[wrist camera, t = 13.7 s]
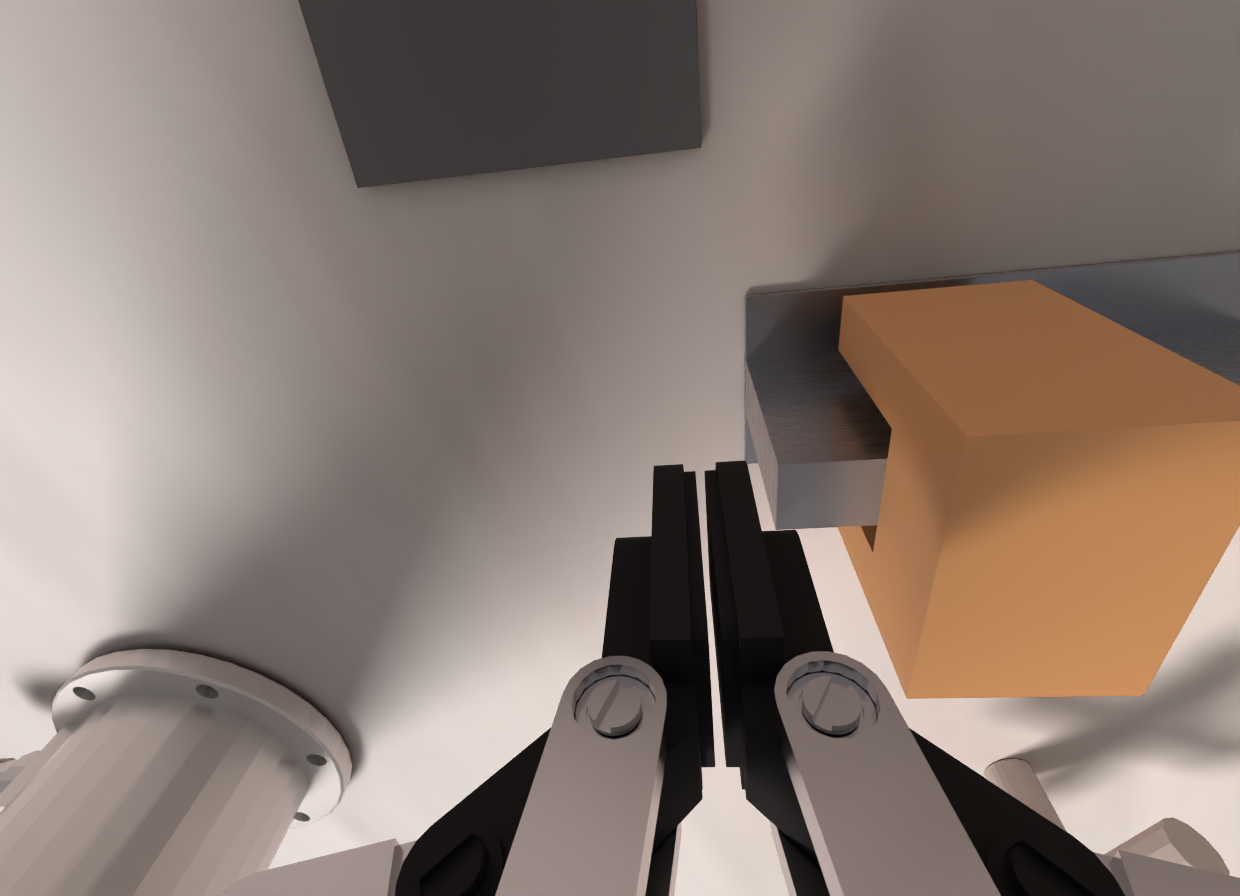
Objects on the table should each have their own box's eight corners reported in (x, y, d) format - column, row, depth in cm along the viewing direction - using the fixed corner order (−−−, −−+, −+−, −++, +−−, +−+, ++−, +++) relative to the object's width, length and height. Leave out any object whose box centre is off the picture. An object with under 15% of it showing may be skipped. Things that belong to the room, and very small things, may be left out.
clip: (825, 495, 16) (906, 698, 11) (843, 296, 13) (967, 436, 8) (978, 488, 16) (1143, 695, 10) (1031, 279, 13) (1301, 417, 7)
